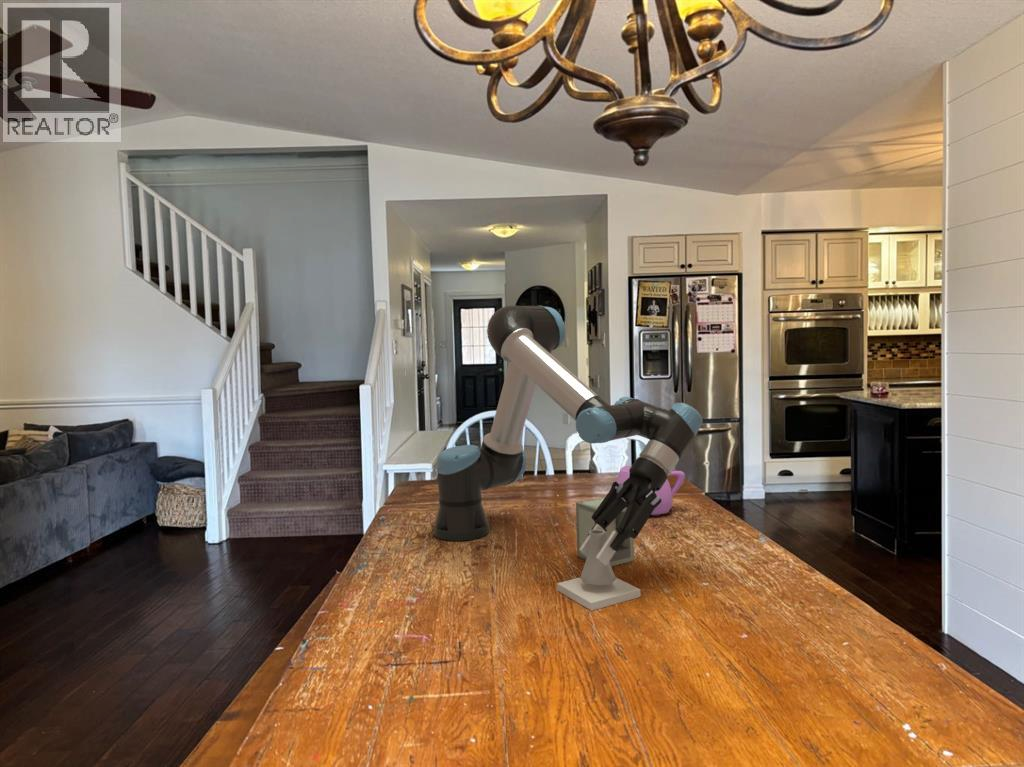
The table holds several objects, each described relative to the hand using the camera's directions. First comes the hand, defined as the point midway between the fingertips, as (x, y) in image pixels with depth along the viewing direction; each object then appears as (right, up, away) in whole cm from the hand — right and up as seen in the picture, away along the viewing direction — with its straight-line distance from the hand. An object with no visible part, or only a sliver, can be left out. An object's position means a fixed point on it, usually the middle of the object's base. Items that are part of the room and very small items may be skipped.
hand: (592, 557), depth 128 cm
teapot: (+23, -3, +62) cm, 66 cm away
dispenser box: (+6, -6, +22) cm, 23 cm away
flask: (+1, -5, +1) cm, 5 cm away
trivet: (+1, -8, +1) cm, 8 cm away
